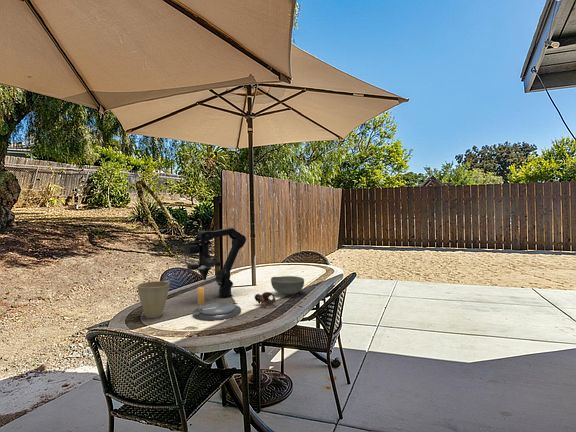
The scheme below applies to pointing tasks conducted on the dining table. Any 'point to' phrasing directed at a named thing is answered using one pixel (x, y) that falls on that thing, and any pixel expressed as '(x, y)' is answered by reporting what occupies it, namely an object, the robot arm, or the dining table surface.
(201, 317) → the dial plate
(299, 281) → the bowl
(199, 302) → the dial
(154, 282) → the plant pot
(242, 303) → the dining table surface
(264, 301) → the brown animal figurine
